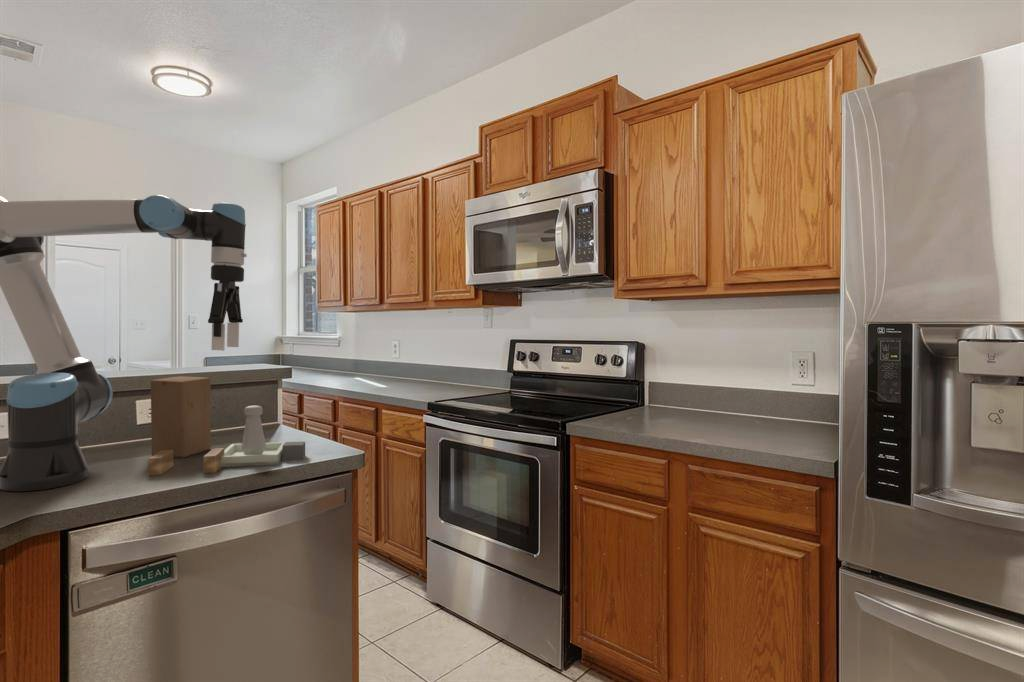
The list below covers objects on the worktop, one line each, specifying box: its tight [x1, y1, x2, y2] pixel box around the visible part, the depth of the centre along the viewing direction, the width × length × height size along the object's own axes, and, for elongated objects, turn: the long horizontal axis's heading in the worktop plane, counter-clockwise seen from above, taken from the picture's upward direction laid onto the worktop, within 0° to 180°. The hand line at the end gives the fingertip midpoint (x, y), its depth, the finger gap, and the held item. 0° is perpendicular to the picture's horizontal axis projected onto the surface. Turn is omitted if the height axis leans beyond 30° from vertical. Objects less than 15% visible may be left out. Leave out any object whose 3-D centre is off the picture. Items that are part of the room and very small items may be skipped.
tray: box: [221, 441, 285, 468], centre depth 144 cm, size 14×14×2 cm
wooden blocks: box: [148, 447, 225, 476], centre depth 133 cm, size 14×8×4 cm, turn 103°
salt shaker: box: [241, 405, 267, 455], centre depth 144 cm, size 6×6×13 cm
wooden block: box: [150, 375, 212, 458], centre depth 149 cm, size 10×10×20 cm
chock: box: [282, 441, 306, 461], centre depth 145 cm, size 5×4×4 cm
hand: (225, 348), depth 142 cm, fingers open, 13 cm apart
